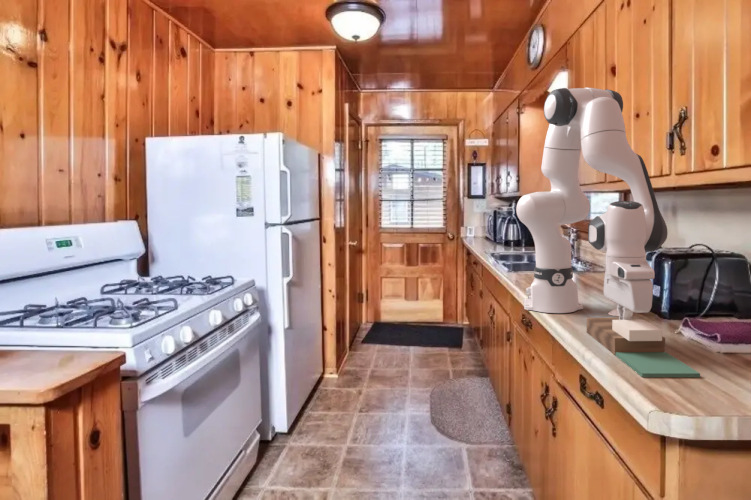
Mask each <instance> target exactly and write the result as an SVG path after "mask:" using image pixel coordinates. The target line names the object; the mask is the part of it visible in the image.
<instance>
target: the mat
mask: <svg viewBox="0 0 751 500" xmlns="http://www.w3.org/2000/svg"><path fill="white" fill-rule="evenodd" d="M615 356H616V357H617V359H619V360H620V359H621V360H620V361H622V362H623V363H624V362H625V363H626V364H627V366H628V367H629V368H630V367H631V368H632V370H633V371H634V372H635V371H636V372H637V373H636V372H635V373H636V374H637V375H639V376H640V377H641V378H701V373H700V372H699V371H697V370H695V369H694V368H693V367H691V366H689V365H688V364H686V363H684V362H683V361H681V360H680V359H678V358H676V357H675V356H673V355H671V354H670V353H668V352H666V351H665V352H616V355H615ZM625 363H624V364H625ZM626 364H625V365H626ZM631 368H630V369H631Z"/></svg>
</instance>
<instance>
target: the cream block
mask: <svg viewBox="0 0 751 500" xmlns="http://www.w3.org/2000/svg"><path fill="white" fill-rule="evenodd" d="M612 330H613V331H615V332H616V333H618V334H619V335H621V336H622V337H624V338H625V339H627V340H628V341H662V336H663V329H662V328H660V327H657V326H655V325H653V324H652V323H650V322H647V320H644V319H640V318H639V319H633V320H612Z"/></svg>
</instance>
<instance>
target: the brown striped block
mask: <svg viewBox="0 0 751 500" xmlns="http://www.w3.org/2000/svg"><path fill="white" fill-rule="evenodd" d="M612 320H619V316H616V317H586V333H587V334H588V335H589V336H591V337H592V338H593V339H595V341H597V342H598V343H600V345H602V346H603V347H605V349H607V350H608V351H610V353H611V354H613V355H614V356H616V352H666V337H665V336H663V335H662V341H628V340H627V339H625V338H624V337H622V336H621V335H619V334H618V333H616V332H615V331H613V330H612ZM631 320H634V319H633V318H631Z"/></svg>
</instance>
